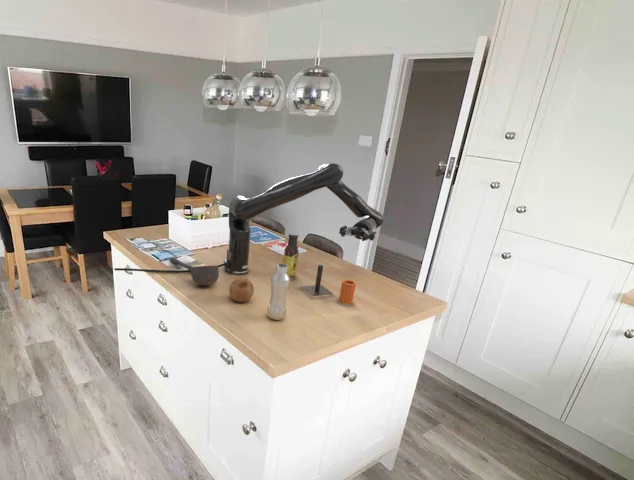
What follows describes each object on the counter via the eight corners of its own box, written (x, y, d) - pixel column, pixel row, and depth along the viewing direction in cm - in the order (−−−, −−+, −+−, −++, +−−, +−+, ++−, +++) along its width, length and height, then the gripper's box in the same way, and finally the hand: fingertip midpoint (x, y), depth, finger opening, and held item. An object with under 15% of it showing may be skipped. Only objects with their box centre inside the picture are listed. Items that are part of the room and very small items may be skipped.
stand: (312, 298, 168) (316, 270, 163) (300, 288, 176) (304, 261, 171) (333, 296, 171) (338, 268, 166) (320, 286, 180) (324, 260, 175)
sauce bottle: (294, 280, 184) (300, 237, 175) (280, 278, 185) (285, 235, 176) (296, 275, 190) (301, 233, 181) (282, 273, 191) (287, 231, 182)
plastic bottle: (265, 313, 152) (270, 261, 144) (283, 314, 153) (290, 262, 145) (267, 321, 146) (273, 268, 138) (286, 322, 147) (293, 269, 139)
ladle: (200, 288, 163) (199, 262, 161) (159, 279, 194) (158, 258, 192) (225, 286, 170) (225, 261, 168) (181, 278, 200) (181, 257, 199)
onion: (244, 311, 159) (249, 294, 152) (223, 300, 161) (226, 283, 153) (255, 295, 165) (260, 278, 158) (234, 285, 167) (238, 268, 159)
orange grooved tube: (343, 306, 163) (347, 285, 159) (336, 300, 167) (339, 280, 163) (354, 305, 165) (358, 284, 161) (346, 299, 169) (350, 279, 165)
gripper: (348, 217, 183) (337, 223, 169) (381, 223, 177) (372, 230, 164) (345, 233, 186) (334, 241, 173) (377, 240, 180) (368, 249, 167)
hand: (352, 236), depth 168 cm, fingers open, 8 cm apart
